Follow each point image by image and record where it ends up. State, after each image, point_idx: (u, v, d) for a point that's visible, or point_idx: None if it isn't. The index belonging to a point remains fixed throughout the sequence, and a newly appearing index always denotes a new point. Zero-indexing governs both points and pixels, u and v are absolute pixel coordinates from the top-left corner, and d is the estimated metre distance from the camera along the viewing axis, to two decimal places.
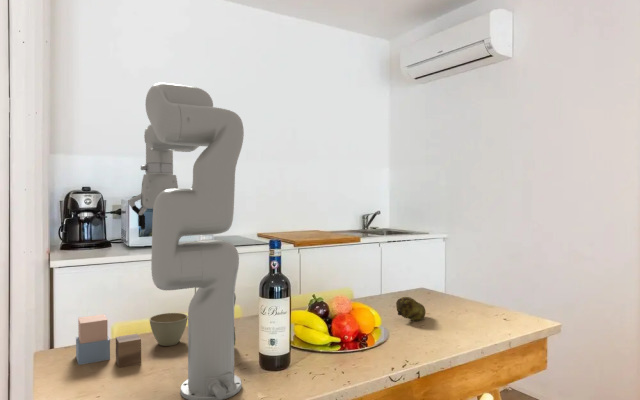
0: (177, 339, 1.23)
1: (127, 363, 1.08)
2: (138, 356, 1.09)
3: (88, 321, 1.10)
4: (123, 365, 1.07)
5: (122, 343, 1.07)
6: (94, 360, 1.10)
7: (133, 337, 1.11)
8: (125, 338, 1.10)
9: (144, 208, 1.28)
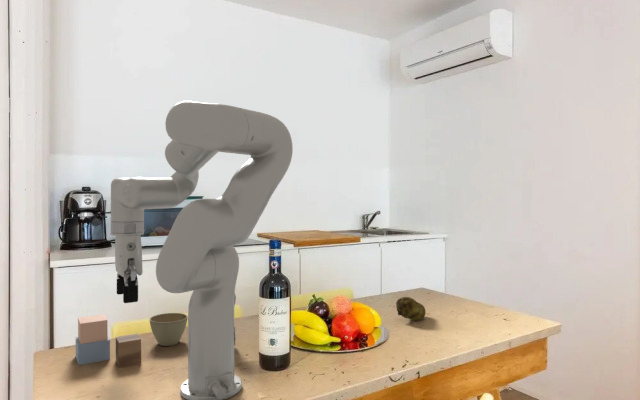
0: (177, 339, 1.23)
1: (127, 363, 1.08)
2: (138, 356, 1.09)
3: (88, 321, 1.10)
4: (123, 365, 1.07)
5: (122, 343, 1.07)
6: (94, 360, 1.10)
7: (133, 337, 1.11)
8: (125, 338, 1.10)
9: None
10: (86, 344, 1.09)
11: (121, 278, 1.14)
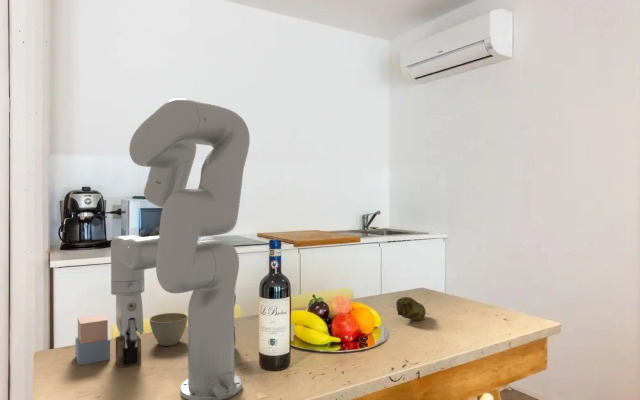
0: (177, 339, 1.23)
1: None
2: (138, 356, 1.09)
3: (88, 321, 1.10)
4: (123, 365, 1.07)
5: (122, 342, 1.07)
6: (94, 360, 1.10)
7: None
8: None
9: None
10: (86, 344, 1.09)
11: None
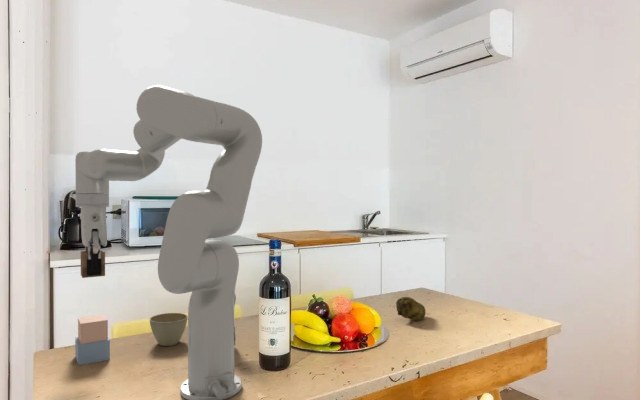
0: (177, 339, 1.23)
1: None
2: (102, 269, 1.12)
3: (88, 321, 1.10)
4: (87, 276, 1.10)
5: (86, 254, 1.10)
6: (94, 360, 1.10)
7: None
8: None
9: (100, 249, 1.11)
10: (86, 344, 1.09)
11: None
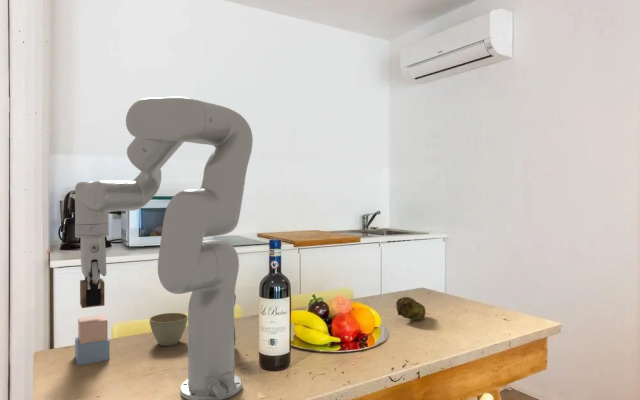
0: (177, 339, 1.23)
1: None
2: (102, 298, 1.12)
3: (88, 321, 1.10)
4: (86, 306, 1.10)
5: (85, 284, 1.10)
6: (94, 360, 1.10)
7: None
8: None
9: (99, 279, 1.11)
10: (86, 344, 1.09)
11: None
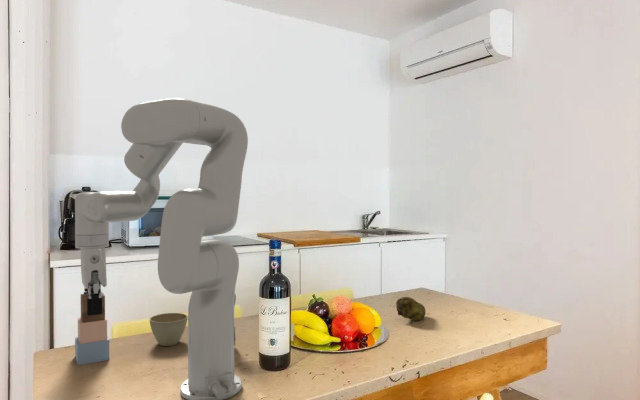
0: (177, 339, 1.23)
1: (91, 318, 1.10)
2: (102, 313, 1.12)
3: None
4: (86, 320, 1.10)
5: (86, 298, 1.10)
6: (93, 360, 1.10)
7: None
8: None
9: (100, 289, 1.10)
10: (85, 344, 1.09)
11: (88, 291, 1.16)
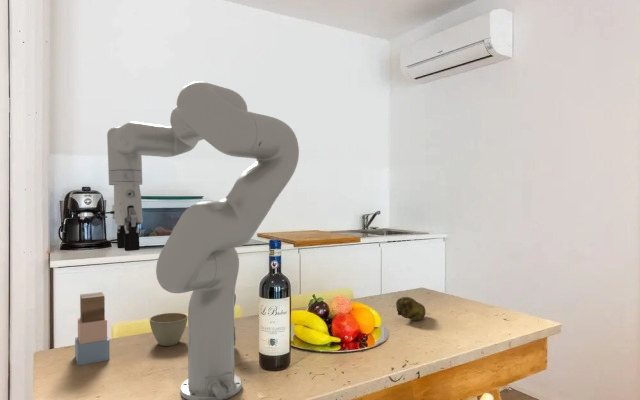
0: (177, 339, 1.23)
1: (90, 319, 1.10)
2: (102, 313, 1.12)
3: None
4: (86, 320, 1.10)
5: (85, 298, 1.10)
6: (93, 360, 1.10)
7: (97, 294, 1.13)
8: (89, 295, 1.12)
9: None
10: (86, 344, 1.09)
11: (121, 232, 1.12)
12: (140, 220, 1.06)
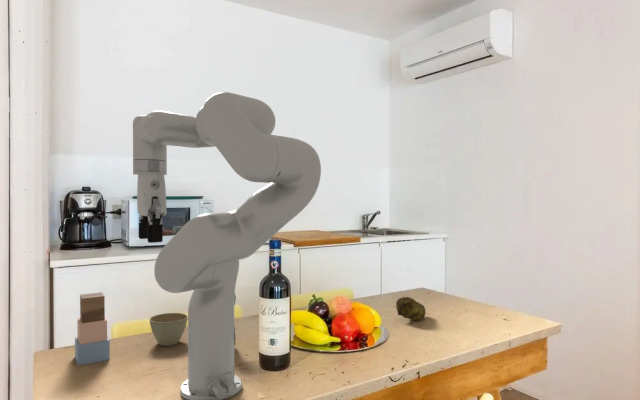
0: (177, 339, 1.23)
1: (90, 319, 1.10)
2: (102, 313, 1.11)
3: (87, 322, 1.10)
4: (86, 321, 1.10)
5: (85, 299, 1.09)
6: (94, 361, 1.10)
7: (97, 294, 1.13)
8: (89, 295, 1.12)
9: None
10: (86, 344, 1.09)
11: (143, 222, 1.10)
12: (164, 212, 1.04)
